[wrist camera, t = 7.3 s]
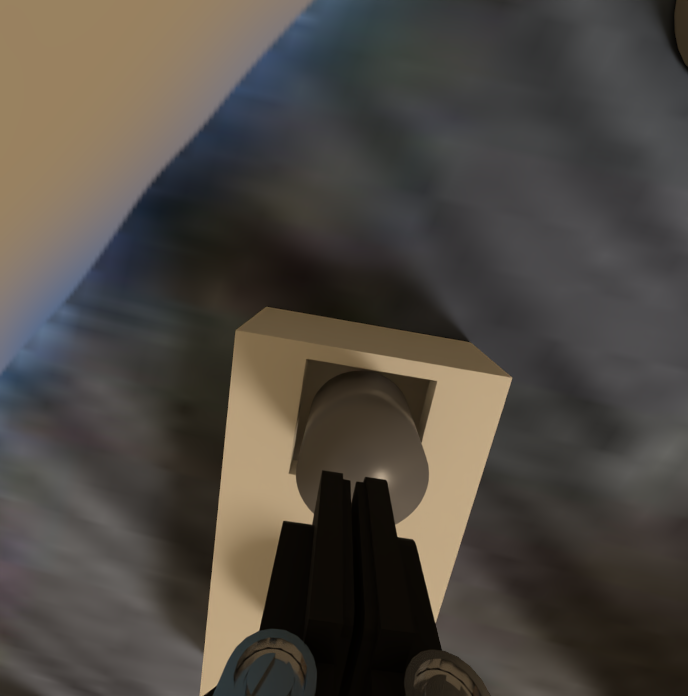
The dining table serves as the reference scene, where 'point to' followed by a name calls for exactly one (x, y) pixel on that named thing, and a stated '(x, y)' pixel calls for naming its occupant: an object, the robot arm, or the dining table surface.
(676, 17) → the travel mug
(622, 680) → the dining table surface
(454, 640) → the dining table surface
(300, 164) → the dining table surface
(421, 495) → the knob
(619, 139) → the dining table surface
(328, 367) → the knob housing
